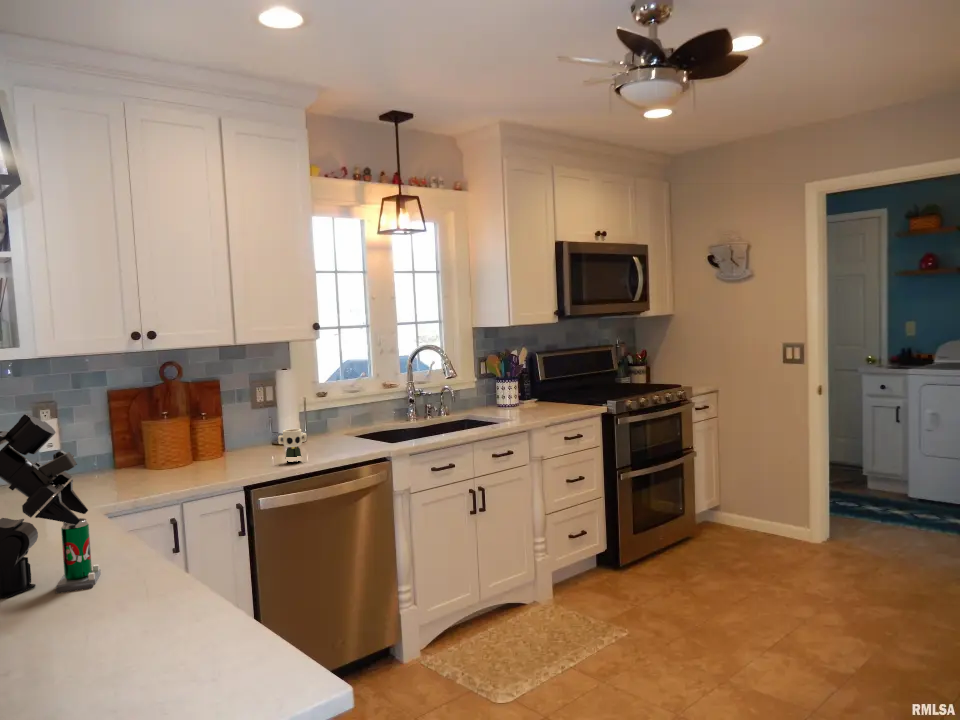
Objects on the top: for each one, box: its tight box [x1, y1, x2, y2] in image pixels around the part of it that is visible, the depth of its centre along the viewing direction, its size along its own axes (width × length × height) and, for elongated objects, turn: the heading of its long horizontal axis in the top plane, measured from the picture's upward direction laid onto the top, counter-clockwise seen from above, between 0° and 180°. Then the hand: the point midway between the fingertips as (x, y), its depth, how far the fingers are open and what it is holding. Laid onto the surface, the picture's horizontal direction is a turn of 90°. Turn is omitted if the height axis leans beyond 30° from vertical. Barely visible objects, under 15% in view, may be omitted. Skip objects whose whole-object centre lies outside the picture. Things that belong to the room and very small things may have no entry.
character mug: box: [277, 428, 307, 458], centre depth 276 cm, size 11×7×13 cm, turn 113°
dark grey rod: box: [55, 583, 94, 594], centre depth 144 cm, size 7×1×1 cm, turn 110°
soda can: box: [60, 517, 93, 580], centre depth 148 cm, size 5×5×12 cm
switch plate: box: [56, 564, 102, 588], centre depth 148 cm, size 7×7×2 cm
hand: (82, 517), depth 148 cm, fingers open, 9 cm apart
